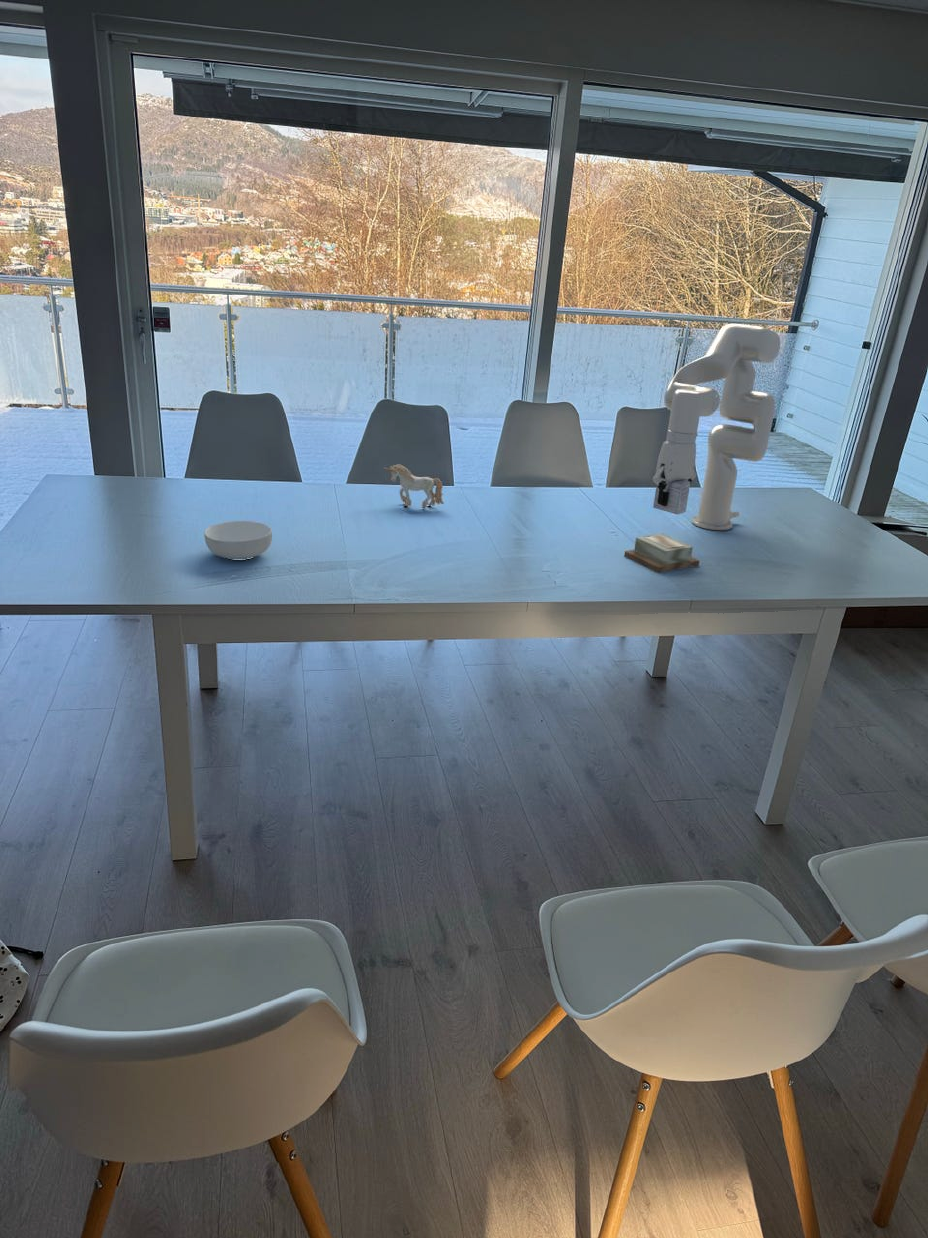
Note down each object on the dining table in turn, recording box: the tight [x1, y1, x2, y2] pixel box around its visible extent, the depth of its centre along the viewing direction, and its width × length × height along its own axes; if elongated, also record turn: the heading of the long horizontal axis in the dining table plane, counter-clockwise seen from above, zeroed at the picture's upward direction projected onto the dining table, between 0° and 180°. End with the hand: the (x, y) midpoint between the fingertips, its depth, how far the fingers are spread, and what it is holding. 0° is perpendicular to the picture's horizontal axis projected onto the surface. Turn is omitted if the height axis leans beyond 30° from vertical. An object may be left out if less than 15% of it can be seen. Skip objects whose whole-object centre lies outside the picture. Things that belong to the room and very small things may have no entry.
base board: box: [624, 533, 700, 574], centre depth 246 cm, size 15×14×6 cm
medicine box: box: [652, 478, 691, 515], centre depth 240 cm, size 8×4×9 cm, turn 45°
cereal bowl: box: [203, 520, 273, 559], centre depth 229 cm, size 17×17×7 cm
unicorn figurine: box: [383, 463, 445, 509], centre depth 277 cm, size 7×20×13 cm, turn 100°
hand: (670, 503), depth 241 cm, fingers closed on medicine box, 5 cm apart
